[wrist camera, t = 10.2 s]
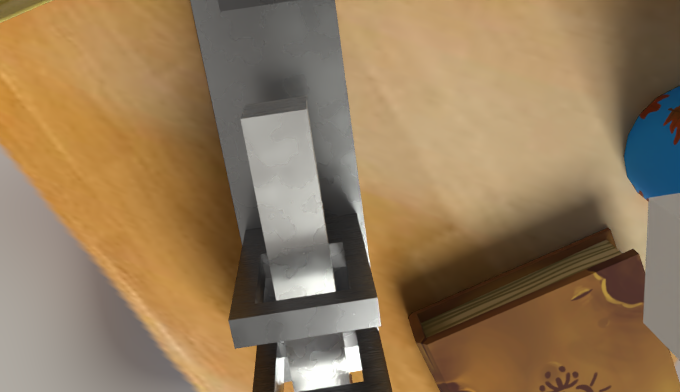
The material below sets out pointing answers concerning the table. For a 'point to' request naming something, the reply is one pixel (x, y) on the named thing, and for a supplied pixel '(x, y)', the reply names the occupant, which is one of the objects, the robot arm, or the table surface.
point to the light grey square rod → (294, 228)
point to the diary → (549, 328)
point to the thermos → (656, 148)
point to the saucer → (17, 7)
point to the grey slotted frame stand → (333, 171)
